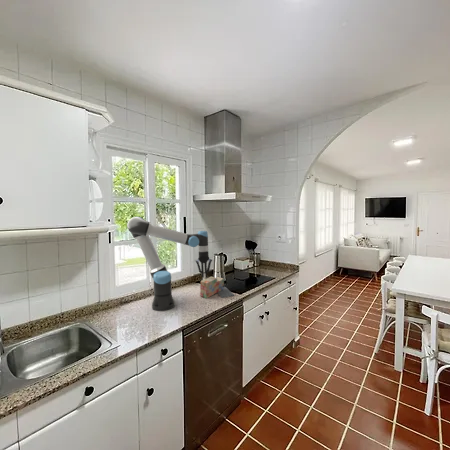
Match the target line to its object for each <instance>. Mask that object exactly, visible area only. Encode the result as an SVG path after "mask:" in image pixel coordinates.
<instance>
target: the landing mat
mask: <svg viewBox="0 0 450 450" xmlns="http://www.w3.org/2000/svg"><path fill="white" fill-rule="evenodd" d="M216 294H218V295H219V296H220V298H228V297H229V298H230V297H235V294H234V293H233V292H232V291H231V290H229V288H227V287H226V286H224V288H223V290H221V291H219V292H217V293H216Z"/></svg>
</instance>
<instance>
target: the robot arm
mask: <svg viewBox="0 0 450 450" xmlns="http://www.w3.org/2000/svg"><path fill="white" fill-rule="evenodd" d="M126 226H127V230H128V231H129V232H130V234H131V236H132V237H133V239H135V240H137V243H138V246H139V247H140V249H141V251H142V253H143V256H144V257H145V260H146V262H147V264H148V266H149V269H150V271H149V274H150V276H151V278H152V280H153V295H154V296H153V300H152V302H151V308H152V310H154V311H160V312H161V311H168V310H171V309H173V308H174V307H175V305H176V303H175V299H174V296H173V295H172V294H173V293H172V274H171V272H170V271H168V269H167V267H166V265H165V264H163V263H162V261H161V259H160V257H159V255H158V253H157V250H156V248H155V246H154V243H153V242H152V239H151V237H155V238H158V239H163V240H166V241H169V242H170V241H171V242H175V243H178V244H183V246H184V245H185V246H189V247H192V248H196V247H198V258H197V260H195V263H196V265H197V268H198V272H199V273H200V274H201V278H202V280H204V279H206V278H208V277H207V276H208V273H209V272H210V269H211V265H212V264H211V263H212V261H213V260H212V259H211V258H210V257H209V233H208V231H207V230H199V231H197V233H194V234H193V233H192V234H191V233H190V234H189V233H185V232H181V231H179V230H178V231H177V230H174V229H171V228H166V227H163V226H159V225H156V224H153V223H152V222H150V221H147V220H145V219H144V218H143V217H141V216H132V218H130V219H129V220H128V221H127V225H126ZM150 236H151V237H150Z"/></svg>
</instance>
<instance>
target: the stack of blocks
mask: <svg viewBox="0 0 450 450" xmlns="http://www.w3.org/2000/svg"><path fill="white" fill-rule="evenodd" d="M224 285H225V278H222V277H219V276H217V277H214V276H209V277H206V279H204V280H203V279H202V280H200V287H199V288H200V290H199V296H200V297H203V298H205V299H207V298H210V297H211V296H214V295H215V294H218V293H217V292H219V291H221V290H223V288H224V287H225V286H224Z"/></svg>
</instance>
